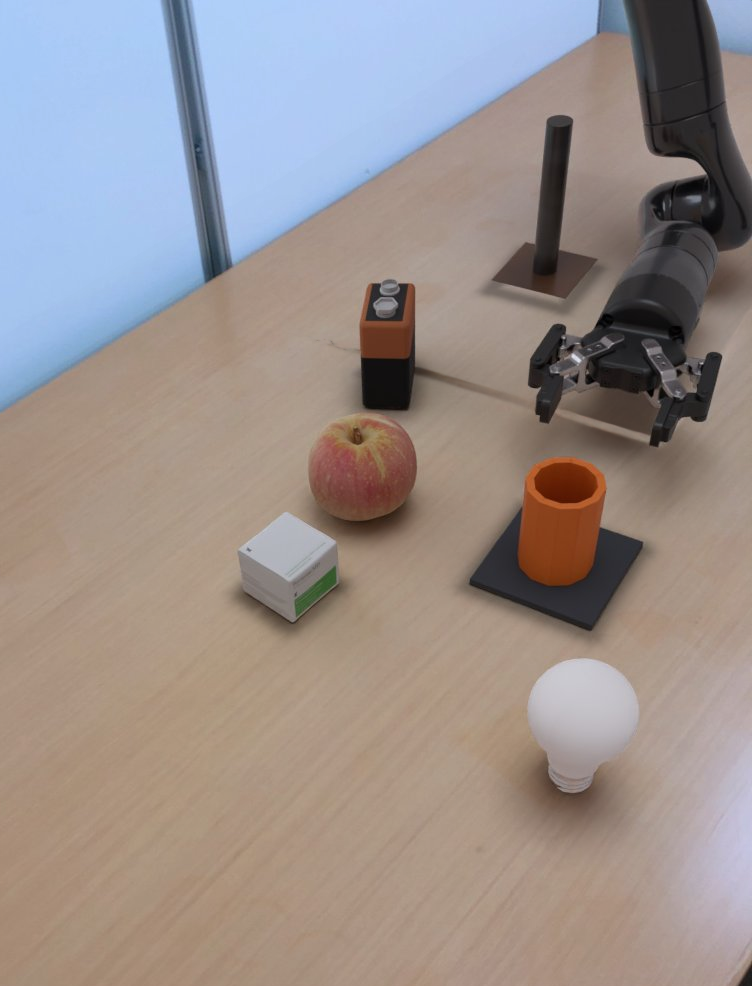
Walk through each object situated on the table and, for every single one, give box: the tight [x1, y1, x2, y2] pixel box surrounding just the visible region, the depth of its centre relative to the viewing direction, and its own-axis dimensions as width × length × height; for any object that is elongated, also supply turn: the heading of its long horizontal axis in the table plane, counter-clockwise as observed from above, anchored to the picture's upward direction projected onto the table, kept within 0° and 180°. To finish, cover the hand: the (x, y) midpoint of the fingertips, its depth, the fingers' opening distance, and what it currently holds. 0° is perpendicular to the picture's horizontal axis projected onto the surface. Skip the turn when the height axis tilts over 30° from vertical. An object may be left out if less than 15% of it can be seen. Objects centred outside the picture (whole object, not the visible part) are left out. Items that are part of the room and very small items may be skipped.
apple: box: [307, 412, 418, 522], centre depth 90 cm, size 9×9×8 cm
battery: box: [358, 278, 416, 410], centre depth 99 cm, size 4×7×10 cm, turn 170°
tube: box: [518, 456, 608, 586], centre depth 83 cm, size 6×6×8 cm
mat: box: [469, 505, 644, 631], centre depth 86 cm, size 10×10×1 cm
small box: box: [237, 511, 340, 623], centre depth 85 cm, size 6×6×5 cm
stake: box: [491, 114, 599, 300], centre depth 106 cm, size 8×8×16 cm
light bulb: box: [526, 657, 640, 794], centre depth 69 cm, size 7×7×11 cm
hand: (599, 426), depth 84 cm, fingers open, 8 cm apart
